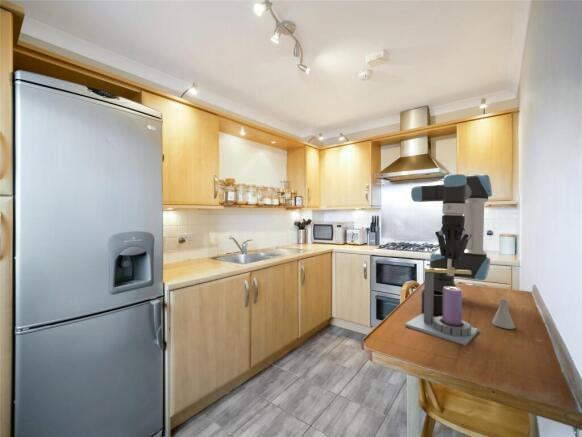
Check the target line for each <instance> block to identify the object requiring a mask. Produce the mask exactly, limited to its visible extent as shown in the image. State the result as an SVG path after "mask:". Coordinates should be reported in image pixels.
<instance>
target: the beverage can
mask: <svg viewBox="0 0 582 437" xmlns="http://www.w3.org/2000/svg"><path fill="white" fill-rule="evenodd" d="M462 303H463V291H462V288H460V287H457V286H456V287H451V286H445V287H444V289H443V315H442V323H444V324H446V325H449V326H455V327H461V325H462V320H463V319H462V316H463V312H462V311H463V304H462Z"/></svg>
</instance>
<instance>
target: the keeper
mask: <svg viewBox="0 0 582 437" xmlns="http://www.w3.org/2000/svg"><path fill="white" fill-rule="evenodd" d="M423 272H424V273H425V272H429V273H434V272H437V273H456V274H471V271H470V270H456V269H436V268H430V267H424V268H423Z"/></svg>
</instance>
